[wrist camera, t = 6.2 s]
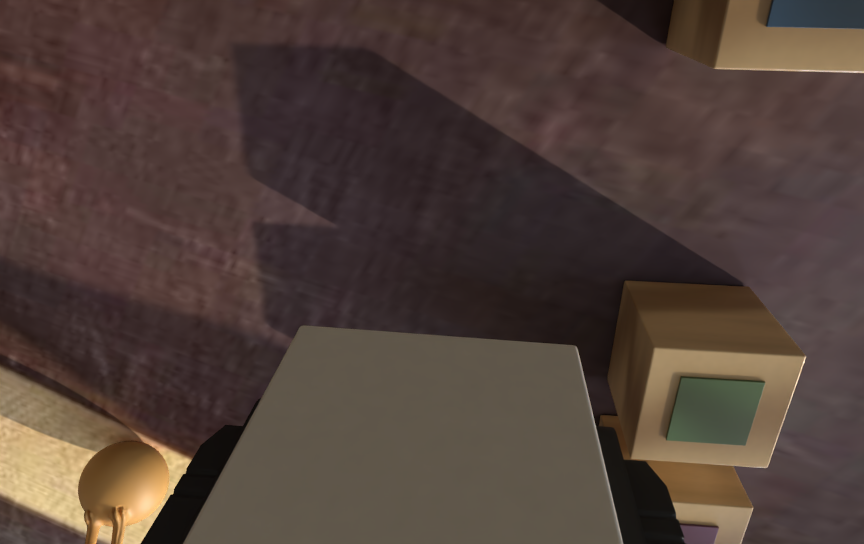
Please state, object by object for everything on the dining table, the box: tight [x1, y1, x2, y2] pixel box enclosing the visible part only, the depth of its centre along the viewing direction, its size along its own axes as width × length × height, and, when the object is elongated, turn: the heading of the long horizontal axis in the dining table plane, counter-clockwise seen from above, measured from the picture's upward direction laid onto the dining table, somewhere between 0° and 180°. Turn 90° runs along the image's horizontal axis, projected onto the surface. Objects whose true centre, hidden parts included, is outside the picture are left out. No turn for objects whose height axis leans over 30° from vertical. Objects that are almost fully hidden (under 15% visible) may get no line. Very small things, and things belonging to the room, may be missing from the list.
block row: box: [599, 0, 864, 544], centre depth 22 cm, size 26×5×5 cm, turn 179°
